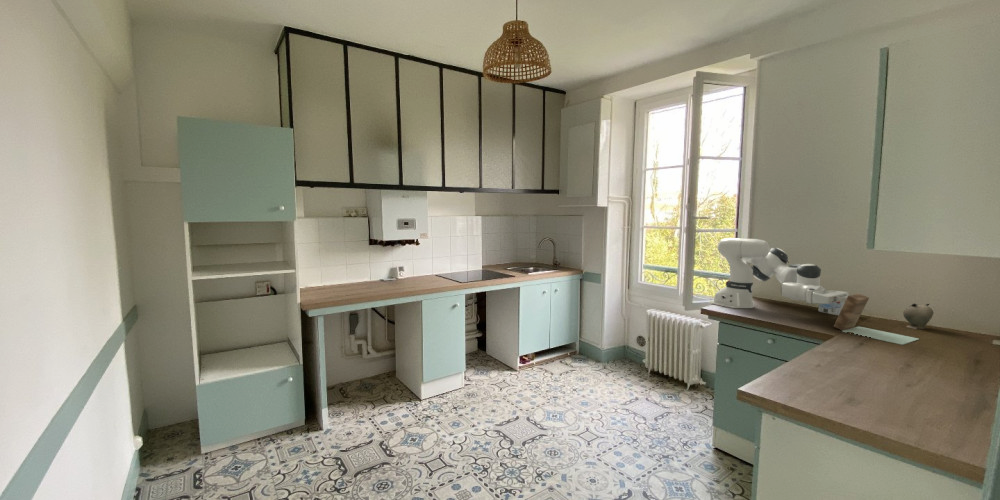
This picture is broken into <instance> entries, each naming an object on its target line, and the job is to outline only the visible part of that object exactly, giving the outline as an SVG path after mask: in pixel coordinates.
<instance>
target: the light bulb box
mask: <svg viewBox="0 0 1000 500" xmlns="http://www.w3.org/2000/svg"><path fill="white" fill-rule="evenodd" d="M844 303H845V302H834V303H830V304H818V309H817V310H818V312H820V313H825V314H829V315H834V316H837V317H838V316H839V314H840V312H841V310H842V308H843V305H844Z"/></svg>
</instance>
